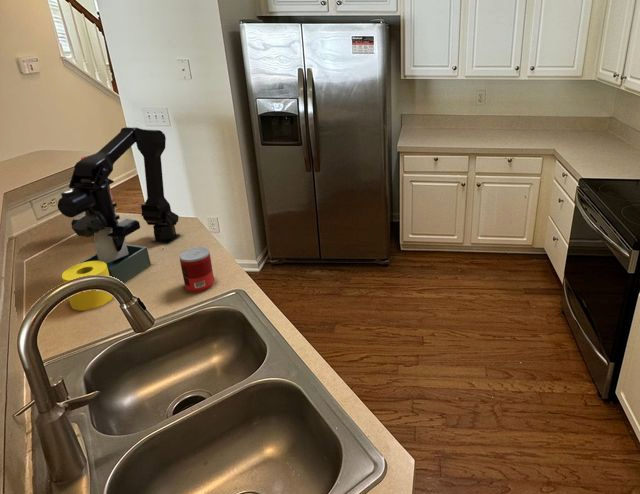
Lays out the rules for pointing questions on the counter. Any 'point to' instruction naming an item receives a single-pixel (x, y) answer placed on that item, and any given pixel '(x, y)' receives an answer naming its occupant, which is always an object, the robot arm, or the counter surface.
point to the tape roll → (89, 297)
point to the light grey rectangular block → (108, 246)
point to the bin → (127, 263)
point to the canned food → (197, 269)
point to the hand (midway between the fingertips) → (112, 249)
